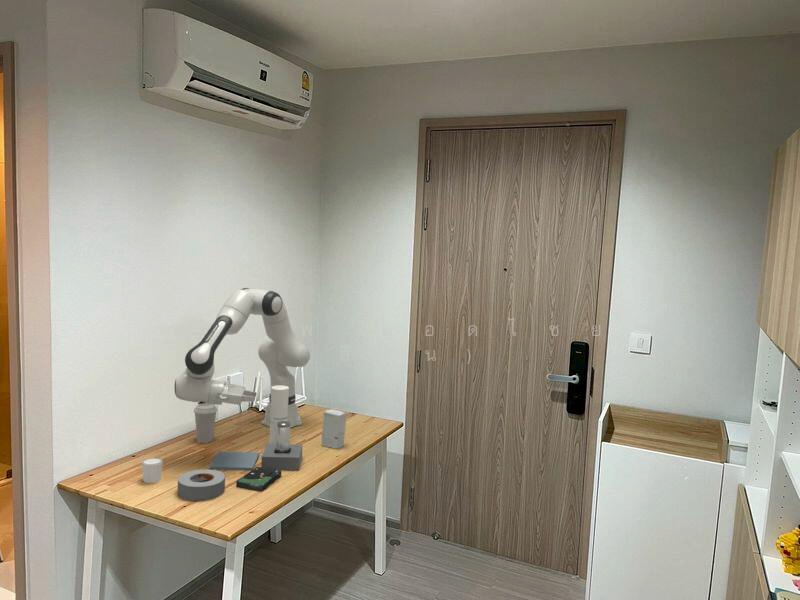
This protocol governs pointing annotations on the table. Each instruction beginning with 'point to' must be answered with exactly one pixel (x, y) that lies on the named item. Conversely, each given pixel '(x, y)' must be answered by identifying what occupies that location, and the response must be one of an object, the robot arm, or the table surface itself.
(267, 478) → the disk drive
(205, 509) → the table surface
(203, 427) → the coffee cup
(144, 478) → the light grey cylinder
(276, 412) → the cylindrical container
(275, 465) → the block
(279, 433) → the metal plug
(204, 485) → the tape roll
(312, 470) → the table surface
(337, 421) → the skincare box
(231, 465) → the rubber mat
